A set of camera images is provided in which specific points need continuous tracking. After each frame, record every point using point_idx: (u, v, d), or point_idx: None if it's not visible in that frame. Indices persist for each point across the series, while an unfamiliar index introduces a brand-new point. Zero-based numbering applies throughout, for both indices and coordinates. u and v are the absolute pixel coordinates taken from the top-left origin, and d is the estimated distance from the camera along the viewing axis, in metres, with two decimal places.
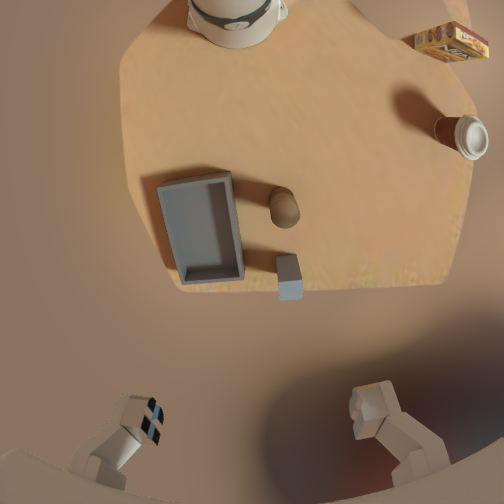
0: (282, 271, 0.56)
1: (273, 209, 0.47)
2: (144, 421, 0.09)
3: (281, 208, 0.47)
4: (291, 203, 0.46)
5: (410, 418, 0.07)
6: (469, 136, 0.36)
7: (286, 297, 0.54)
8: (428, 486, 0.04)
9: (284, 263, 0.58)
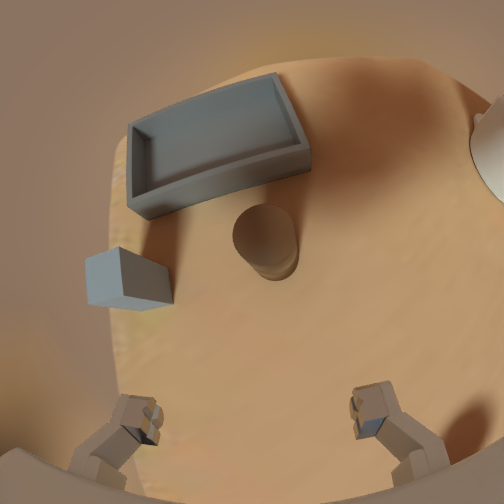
0: (140, 264, 0.27)
1: (272, 207, 0.23)
2: (144, 421, 0.09)
3: (276, 222, 0.22)
4: (291, 240, 0.22)
5: (410, 418, 0.07)
6: None
7: (90, 270, 0.24)
8: (428, 486, 0.04)
9: (154, 275, 0.29)
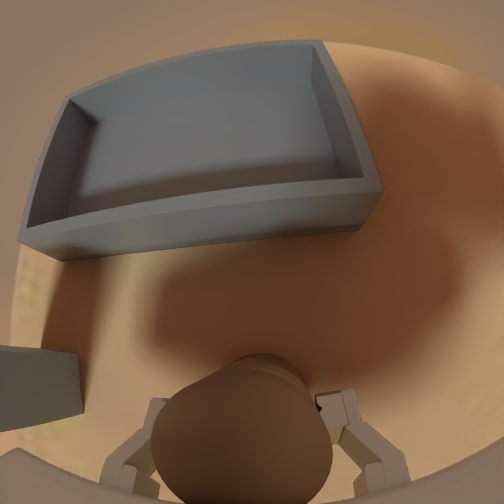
0: (13, 368, 0.10)
1: (278, 394, 0.06)
2: None
3: (283, 441, 0.06)
4: (312, 488, 0.05)
5: (371, 428, 0.07)
6: None
7: None
8: (428, 486, 0.04)
9: (45, 378, 0.12)
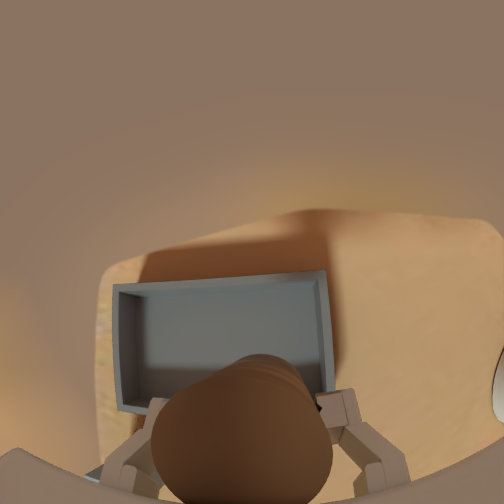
0: None
1: (278, 395, 0.06)
2: None
3: (283, 441, 0.06)
4: (312, 489, 0.05)
5: (371, 428, 0.07)
6: None
7: None
8: (428, 486, 0.04)
9: (150, 476, 0.22)
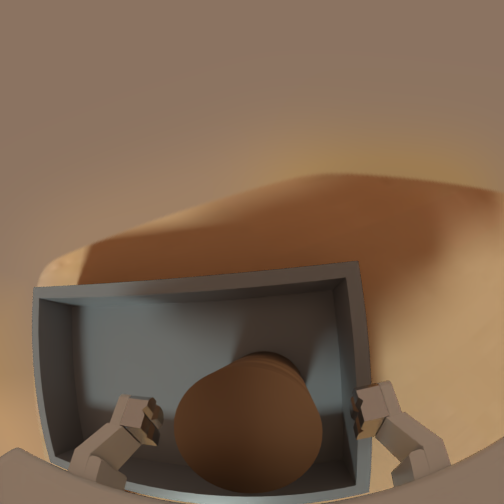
0: None
1: (278, 381, 0.08)
2: (144, 421, 0.09)
3: (282, 419, 0.08)
4: (306, 461, 0.07)
5: (410, 418, 0.07)
6: None
7: None
8: (428, 486, 0.04)
9: None
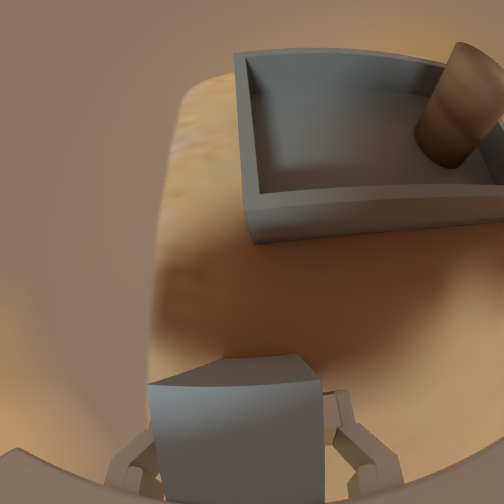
0: None
1: (485, 54, 0.10)
2: None
3: (495, 66, 0.09)
4: None
5: (365, 430, 0.07)
6: None
7: (176, 431, 0.06)
8: (428, 486, 0.04)
9: None
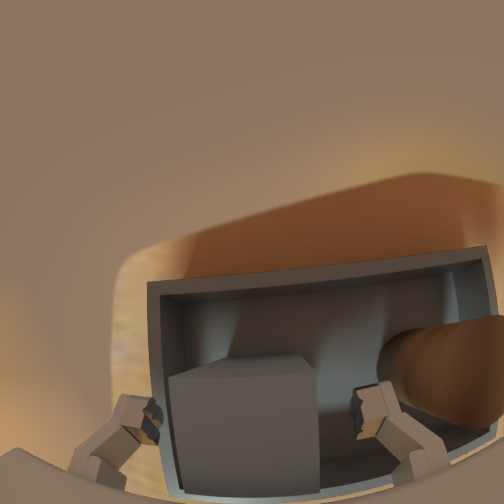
0: None
1: None
2: (144, 421, 0.09)
3: None
4: None
5: (410, 418, 0.07)
6: None
7: (193, 417, 0.07)
8: (428, 486, 0.04)
9: None
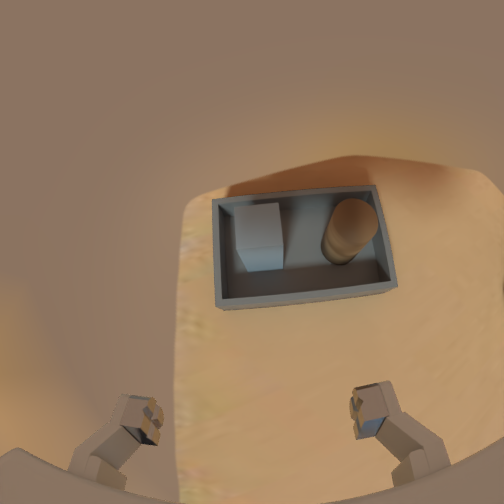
0: None
1: (366, 204, 0.28)
2: (144, 421, 0.09)
3: (367, 216, 0.28)
4: (373, 232, 0.27)
5: (410, 418, 0.07)
6: None
7: (241, 218, 0.28)
8: (428, 486, 0.04)
9: None
